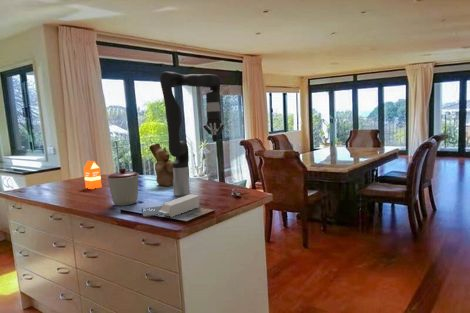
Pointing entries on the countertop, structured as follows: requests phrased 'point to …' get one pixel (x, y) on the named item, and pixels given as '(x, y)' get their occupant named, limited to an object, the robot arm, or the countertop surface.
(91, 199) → the countertop surface
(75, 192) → the countertop surface
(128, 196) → the canister
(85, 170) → the orange juice
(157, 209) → the mat
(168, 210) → the milk
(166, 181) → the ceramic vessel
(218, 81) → the robot arm
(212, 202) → the countertop surface
